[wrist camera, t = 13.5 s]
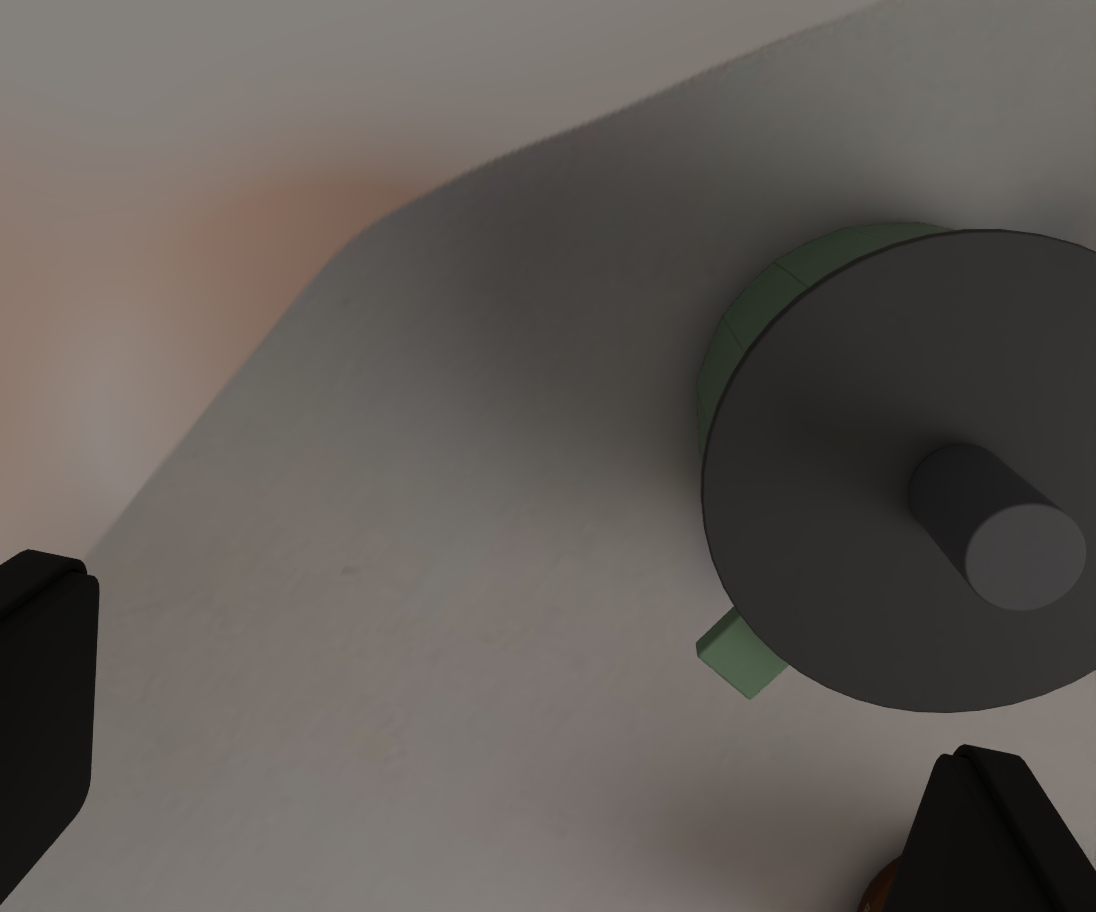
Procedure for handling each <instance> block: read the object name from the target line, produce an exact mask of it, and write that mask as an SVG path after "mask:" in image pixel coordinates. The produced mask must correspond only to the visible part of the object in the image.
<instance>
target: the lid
mask: <svg viewBox="0 0 1096 912" xmlns="http://www.w3.org/2000/svg"><path fill="white" fill-rule="evenodd" d="M701 504H702V514H703V523H704V530H705V534H706V538H707V542H708V546H709V550H710V554H711V558H712V561H713V563H714V566H715V568H716V571H717V573H718V576H719V578H720V581H721V583H722V585H723V588H724V589H725V591H726V593H727V594H728V596H729V598H730V600H731V601H732V603H733V605H734V606H735V608H736V610H737V612H738V613H739V614H740V616H741V617H742V618H743V619H744V621H745V622H746V623H747V624H748V626H749V627H750V628H751V629H752V631H753V632H754V633H755V635H756V636H757V637H758V638H759V639H760V640H762V641H763V642H764V643H765V644H766V645H767V646H768V647H769V648H770V649H771V650H772V651H773V652H774V653H775V654H776V655H777V656H778V657H780V658H781V659H783V660H784V661H785V662H787V663H788V664H789V665H791V666H792V667H793V668H795V669H796V670H797V671H799V672H800V673H802V674H804V675H805V676H807V677H809V678H811V679H812V680H814V681H816V682H818V683H820V684H821V685H823V686H825V687H827V688H829V689H832V690H834V691H837V692H839V693H842V694H844V695H847V696H849V697H851V698H854V699H857V700H860V701H864V702H868V703H872V704H875V705H879V706H883V707H887V708H894V709H900V710H907V711H914V712H935V713H954V712H967V711H980V710H985V709H991V708H996V707H1001V706H1007V705H1012V704H1015V703H1019V702H1022V701H1025V700H1028V699H1032V698H1035V697H1038V696H1042V695H1045V694H1047V693H1049V692H1052V691H1054V690H1056V689H1059V688H1061V687H1063V686H1066V685H1068V684H1070V683H1073V682H1075V681H1077V680H1078V679H1080V678H1082V677H1084V676H1086V675H1087V674H1089V673H1091V672H1093V671H1094V670H1096V252H1095V251H1093V250H1090V249H1088V248H1086V247H1083V246H1081V245H1079V244H1075V243H1072V242H1068V241H1064V240H1060V239H1057V238H1053V237H1049V236H1045V235H1041V234H1035V233H1027V232H1019V231H1011V230H1003V229H963V230H955V231H948V232H941V233H933V234H927V235H923V236H919V237H915V238H912V239H908V240H904V241H900V242H897V243H893V244H890V245H887V246H885V247H883V248H880V249H878V250H875V251H873V252H870V253H868V254H865V255H863V256H860V257H858V258H856V259H854V260H852V261H850V262H849V263H847V264H845V265H843V266H841V267H840V268H838V269H836V270H834V271H832V272H831V273H829V274H827V275H825V276H824V277H823V278H821V279H820V280H818V281H817V282H816V283H814V284H813V285H812V286H810V287H809V288H807V289H806V290H805V291H803V292H802V293H800V294H799V295H798V296H796V297H795V298H794V299H793V300H792V301H791V302H790V303H789V304H788V305H787V306H786V307H785V308H784V309H782V310H781V311H780V312H779V313H778V314H777V315H776V316H775V317H774V318H773V319H772V320H771V321H770V322H769V323H768V324H767V326H766V327H765V328H764V329H763V330H762V332H761V333H760V334H759V335H758V336H757V337H756V339H755V340H754V341H753V342H752V343H751V345H750V346H749V347H748V349H747V350H746V352H745V353H744V355H743V357H742V358H741V360H740V361H739V363H738V364H737V366H736V367H735V369H734V371H733V372H732V374H731V375H730V377H729V380H728V382H727V384H726V386H725V388H724V390H723V392H722V394H721V397H720V399H719V401H718V403H717V405H716V408H715V412H714V415H713V418H712V421H711V424H710V427H709V430H708V434H707V438H706V444H705V449H704V455H703V461H702V470H701Z"/></svg>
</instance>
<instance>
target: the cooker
mask: <svg viewBox="0 0 1096 912" xmlns="http://www.w3.org/2000/svg"><path fill="white" fill-rule="evenodd" d="M948 231H955V230H954V229H949V228H945V227H940V226H936V225H931V224H926V223H919V222H914V223H900V224H874V225H867V226H859V227H846V228H841V229H839V230H837V231H835V232H833V233H831V234H828V235H825V236H823V237H821V238H818V239H816V240H813V241H811V242H808V243H806V244H804V245H802V246H801V247H799V248H797V249H795V250H793V251H792V252H790V253H788V254H786V255H785V256H783V257H782V258H779V259H777V260H775V261H774V263H772V264H771V265H770V266H769V267H768V268H767V269H766V270H764V271H763V272H762V273H761V274H760V275H759V276H758V277H757V278H756V279H755V280H754V281H753V282H752V283H751V284H749V285H748V286H747V287H746V288H745V290H744V291H743V292H742V293H741V295H740V296H739V297H738V298H737V300H736V301H735V302H734V303H733V304H732V306H731V307H730V309H729V310H728V311H727V312H726V313H725V315H724V317H723V318H722V319H721V322H720V324H719V326H718V328H717V330H716V333H715V335H714V337H713V339H712V341H711V343H710V346H709V348H708V351H707V354H706V358H705V361H704V364H703V367H702V371H701V374H700V376H699V379H698V384H697V401H698V407H697V416H698V429H699V450H700V455H701V459H702V461H703V455H704V449H705V444H706V438H707V434H708V430H709V427H710V424H711V421H712V418H713V415H714V412H715V408H716V405H717V403H718V401H719V399H720V397H721V394H722V392H723V390H724V388H725V386H726V384H727V382H728V380H729V377H730V375H731V374H732V372H733V371H734V369H735V367H736V366H737V364H738V363H739V361H740V360H741V358H742V357H743V355H744V353H745V352H746V350H747V349H748V347H749V346H750V345H751V343H752V342H753V341H754V340H755V339H756V337H757V336H758V335H759V334H760V333H761V332H762V330H763V329H764V328H765V327H766V326H767V324H768V323H769V322H770V321H771V320H772V319H773V318H774V317H775V316H776V315H777V314H778V313H779V312H780V311H781V310H782V309H784V308H785V307H786V306H787V305H788V304H789V303H790V302H791V301H792V300H793V299H794V298H795V297H796V296H798V295H799V294H800V293H802V292H803V291H805V290H806V289H807V288H809V287H810V286H812V285H813V284H814V283H816V282H817V281H818V280H820V279H821V278H823V277H824V276H825V275H827V274H829V273H831V272H832V271H834V270H836V269H838V268H840V267H841V266H843V265H845V264H847V263H849V262H850V261H852V260H854V259H856V258H858V257H860V256H863V255H865V254H868V253H870V252H873V251H875V250H878V249H880V248H883V247H885V246H887V245H890V244H893V243H897V242H900V241H904V240H908V239H912V238H915V237H919V236H923V235H927V234H933V233H941V232H948ZM696 649H697V656H698V658H700V659H701V660H702V661H703V662H704V663H706V664H707V665H708V666H709V667H710V668H712V669H713V670H714V671H715V672H716V673H718V674H719V675H720V676H721V677H722V678H724V679H725V680H726V681H727V682H728V683H730V684H731V685H732V686H733V687H734V688H736V689H737V690H738V691H739V692H740V693H742V694H743V695H744V696H745V697H746V698H748V699H752V698H753V697H754V696H755V695H757V694H758V693H759V692H760V691H761V690H762V689H763V688H764V687H765V686H766V685H768V684H769V683H770V682H771V681H772V680H773V679H774V678H775V677H776V676H777V675H778V674H780V673H781V672H782V671H783V670H784V669H785V668H786V667H787V666H788V665H789V664H788V663H787V662H785V661H784V660H783V659H781V658H780V657H778V656H777V655H776V654H775V653H774V652H773V651H772V650H771V649H770V648H769V647H768V646H767V645H766V644H765V643H764V642H763V641H762V640H760V639H759V638H758V637H757V636H756V635H755V633H754V632H753V631H752V629H751V628H750V627H749V626H748V624H747V623H746V622H745V621H744V619H743V618H742V617H741V616H740V614H739V613H738V612H737V610H736V608H735V606H734V607H733V608H732V609H731V610H730V611H729V612H727V613H726V614H725V615H724V616H723V617H722V618H721V619H720V620H719V621H718V622H717V623H716V624H715V625H714V626H713V627H712V628H711V629H710V630H709V631H708V632H707V633H705V634H704V635H703V636H702V637H701V638H700V639H699V640H698V641H697V642H696Z"/></svg>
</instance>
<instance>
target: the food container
mask: <svg viewBox="0 0 1096 912" xmlns="http://www.w3.org/2000/svg"><path fill="white" fill-rule="evenodd" d="M900 859H901V856H900V857H898V858H897V859H895V860H893V861H892V862H891V863H890V864H889V865H887V866H886V867H885V868H884V869H883V870H881V871H880V873H879V874H878V875H877V876H876V877H875V878H874V879H873V881H872V882H871V883H870V885H869V886H868V888H867V890H866V891H865V893H864V895H863V897H862V900H861V902H860V905H859V907H858V912H881V911H882V909H883V906H884V903H885V900H886V897H887V895H888V892H889V889H890V886H891V884H892V881H893V878H894V875H895V872H896V870H897V867H898V864H899V861H900Z"/></svg>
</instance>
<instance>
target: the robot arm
mask: <svg viewBox="0 0 1096 912" xmlns="http://www.w3.org/2000/svg"><path fill="white" fill-rule="evenodd" d="M98 613H99V583H98V580H97V578H96V577H95V576H91V575H87V570H86V567H85V564H84V563H83V562H82V561H81V560H78V559H74V558H69V557H64V556H60V555H55V554H50V553H45V552H40V551H35V550H29V549H27V550H25V551H22V552H20V553H19V554H17V555H16V556H14V557H12V558H11V559H9V560H7V561H6V562H4V563H3V564H1V565H0V905H1V904H2V903H3V901H4V900H5V899H6V898H7V897H8V895H9V894H10V893H11V892H12V891H13V890H14V888H15V887H16V886H17V885H18V884H19V883H20V881H21V880H22V879H23V878H24V877H25V875H26V874H27V873H28V872H29V871H30V870H31V868H32V867H33V866H34V865H35V864H36V863H37V861H38V860H39V859H40V858H41V857H42V856H43V854H44V853H45V852H46V851H47V850H48V848H49V847H50V846H51V845H52V844H53V843H54V841H55V840H56V839H57V838H58V837H59V836H60V834H61V833H62V832H63V831H64V830H65V828H66V827H67V826H68V825H69V824H70V823H71V821H72V820H73V819H74V818H75V817H76V815H77V814H78V812H79V811H80V809H81V807H82V806H83V804H84V802H85V799H86V797H87V794H88V790H89V787H90V780H91V763H92V741H93V720H94V699H95V677H96V656H97V634H98ZM881 912H1096V871H1095V869H1094V868H1093V866H1092V864H1091V863H1090V861H1089V860H1088V858H1087V857H1086V855H1085V854H1084V852H1083V851H1082V849H1081V847H1080V846H1079V844H1078V843H1077V841H1076V840H1075V838H1074V837H1073V835H1072V834H1071V832H1070V831H1069V829H1068V827H1067V826H1066V824H1065V823H1064V821H1063V820H1062V818H1061V817H1060V815H1059V814H1058V812H1057V810H1056V809H1055V807H1054V806H1053V804H1052V803H1051V801H1050V800H1049V798H1048V797H1047V795H1046V794H1045V792H1044V790H1043V789H1042V787H1041V786H1040V784H1039V783H1038V781H1037V780H1036V778H1035V777H1034V775H1033V773H1032V772H1031V770H1030V769H1029V767H1028V766H1027V764H1026V763H1025V761H1024V760H1023V759H1022V758H1021V757H1020V756H1018V755H1014V754H1010V753H1005V752H1000V751H995V750H990V749H986V748H981V747H976V746H971V745H966V744H964V745H961V746H959V747H958V748H957V750H956V751H955V752H954V754H953V755H948V754H942V755H940V757H939V758H938V759H937V760H936V762H935V765H934V767H933V770H932V772H931V775H930V778H929V781H928V784H927V786H926V789H925V792H924V795H923V797H922V800H921V803H920V806H919V809H918V811H917V814H916V817H915V820H914V822H913V825H912V828H911V831H910V834H909V836H908V839H907V842H906V845H905V847H904V850H903V853H902V856H901V859H900V861H899V864H898V867H897V870H896V872H895V875H894V878H893V881H892V884H891V886H890V889H889V892H888V895H887V897H886V900H885V903H884V906H883V909H882V911H881Z"/></svg>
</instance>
